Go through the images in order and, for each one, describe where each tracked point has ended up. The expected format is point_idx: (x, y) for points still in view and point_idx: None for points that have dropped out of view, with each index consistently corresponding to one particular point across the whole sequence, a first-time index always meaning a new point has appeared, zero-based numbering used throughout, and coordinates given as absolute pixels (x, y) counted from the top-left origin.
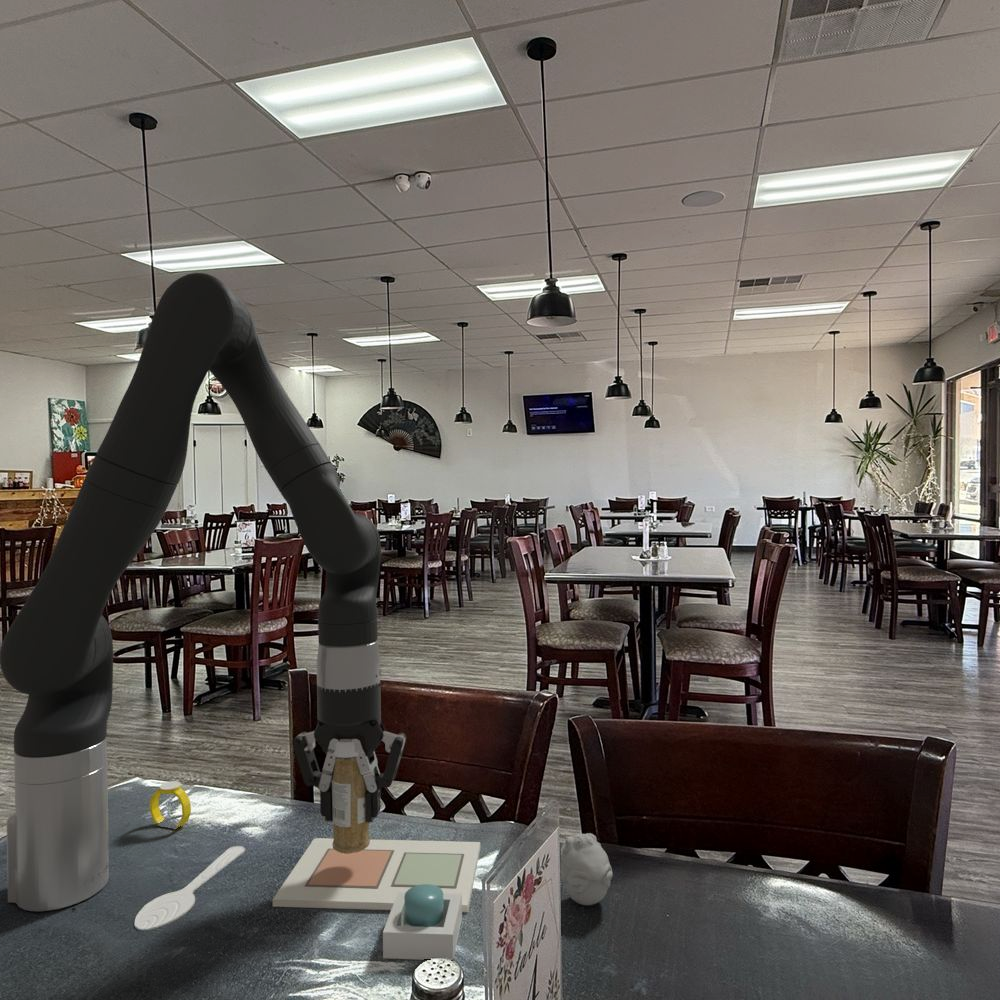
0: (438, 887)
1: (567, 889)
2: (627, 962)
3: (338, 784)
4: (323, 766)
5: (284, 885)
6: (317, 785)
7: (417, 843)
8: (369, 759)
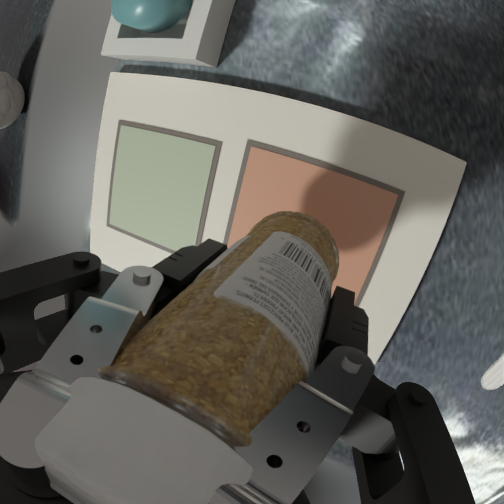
0: (114, 17)
1: (16, 89)
2: (26, 10)
3: (276, 318)
4: (342, 429)
5: (445, 210)
6: (376, 385)
7: None
8: None
